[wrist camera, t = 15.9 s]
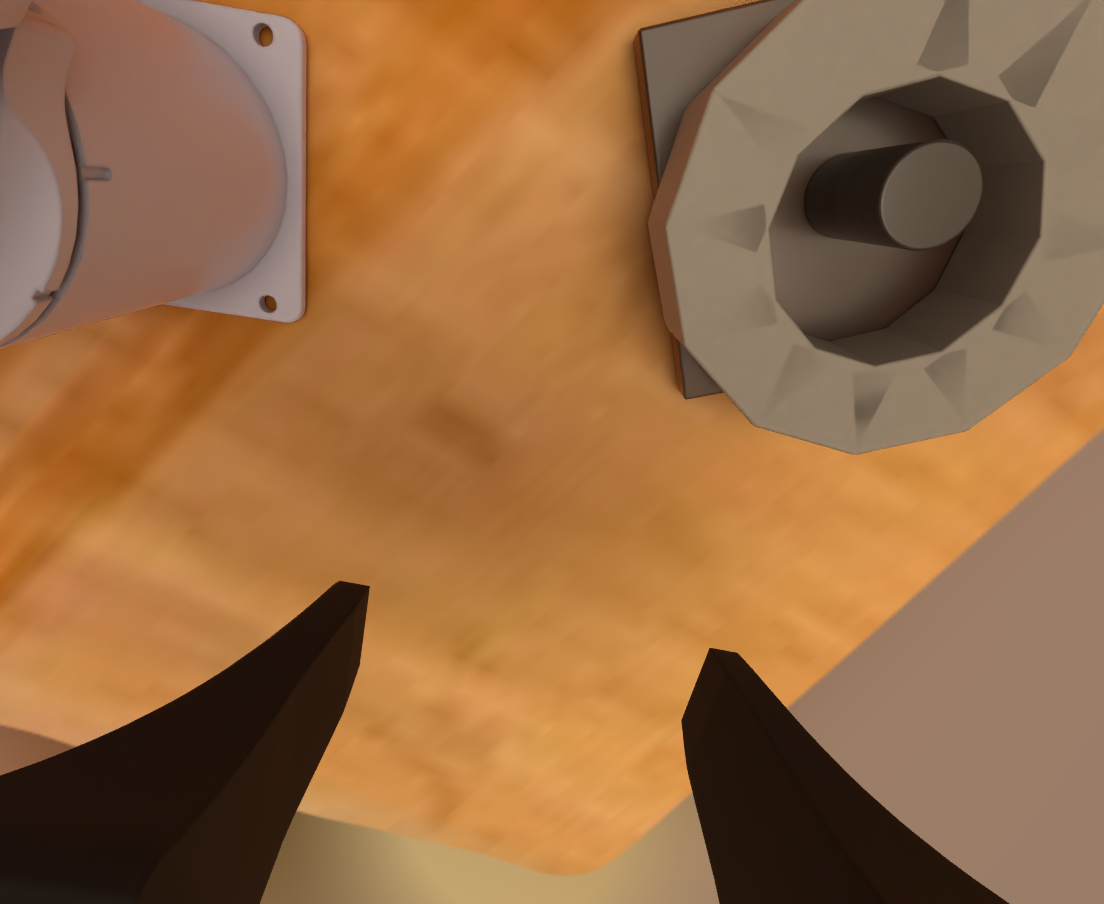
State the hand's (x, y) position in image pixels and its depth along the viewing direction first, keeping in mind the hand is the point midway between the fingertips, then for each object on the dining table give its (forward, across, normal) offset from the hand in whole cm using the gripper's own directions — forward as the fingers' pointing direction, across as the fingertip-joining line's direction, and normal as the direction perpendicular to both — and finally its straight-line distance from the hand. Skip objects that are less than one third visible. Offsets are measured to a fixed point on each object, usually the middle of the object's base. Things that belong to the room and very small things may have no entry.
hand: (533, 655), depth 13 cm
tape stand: (+9, -6, -10) cm, 15 cm away
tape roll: (+8, -7, -10) cm, 14 cm away
